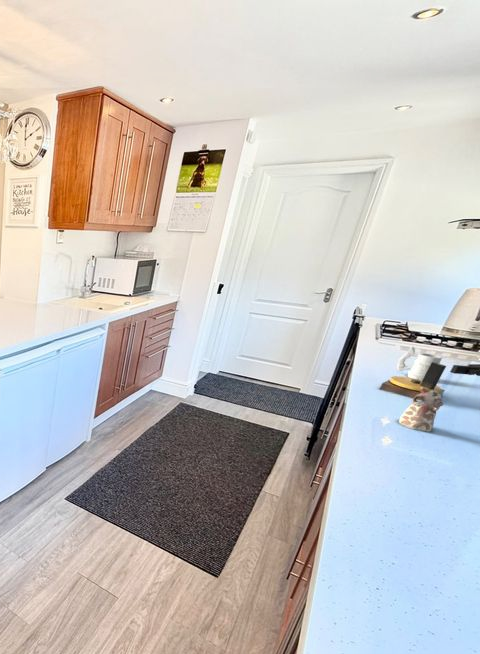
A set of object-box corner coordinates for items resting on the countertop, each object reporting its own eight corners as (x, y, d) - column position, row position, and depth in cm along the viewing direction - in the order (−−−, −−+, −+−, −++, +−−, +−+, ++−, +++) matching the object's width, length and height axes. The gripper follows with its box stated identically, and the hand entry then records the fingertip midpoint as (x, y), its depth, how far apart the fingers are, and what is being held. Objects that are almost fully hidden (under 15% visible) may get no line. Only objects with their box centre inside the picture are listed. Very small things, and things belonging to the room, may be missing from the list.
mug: (431, 383, 161) (446, 354, 157) (391, 374, 170) (404, 347, 165) (433, 379, 166) (448, 351, 161) (394, 370, 174) (406, 344, 169)
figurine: (424, 433, 119) (444, 396, 115) (393, 422, 125) (411, 387, 120) (435, 429, 122) (455, 393, 117) (404, 418, 128) (422, 384, 123)
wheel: (443, 388, 147) (457, 362, 143) (434, 395, 141) (448, 368, 137) (395, 377, 157) (407, 352, 153) (384, 382, 151) (397, 357, 147)
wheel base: (441, 396, 148) (445, 389, 147) (431, 403, 141) (435, 396, 140) (390, 383, 159) (393, 377, 158) (379, 389, 152) (382, 383, 151)
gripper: (544, 391, 135) (467, 385, 138) (501, 377, 147) (431, 372, 149) (557, 371, 133) (479, 365, 135) (512, 358, 144) (441, 353, 147)
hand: (454, 369), depth 142 cm, fingers closed
